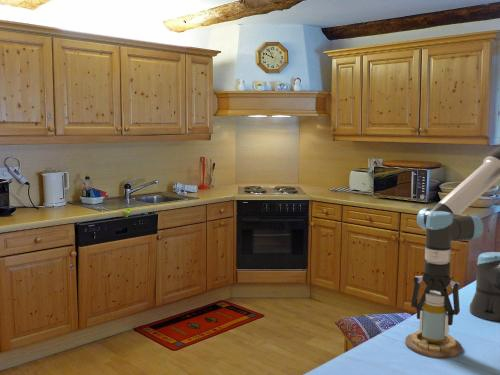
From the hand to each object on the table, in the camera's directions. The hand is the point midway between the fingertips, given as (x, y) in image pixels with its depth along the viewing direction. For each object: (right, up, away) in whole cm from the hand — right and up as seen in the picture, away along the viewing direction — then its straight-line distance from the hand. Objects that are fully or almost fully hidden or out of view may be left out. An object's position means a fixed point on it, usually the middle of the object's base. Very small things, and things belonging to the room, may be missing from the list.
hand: (433, 331), depth 167 cm
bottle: (0, -3, 0) cm, 3 cm away
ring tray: (0, -5, +1) cm, 5 cm away
